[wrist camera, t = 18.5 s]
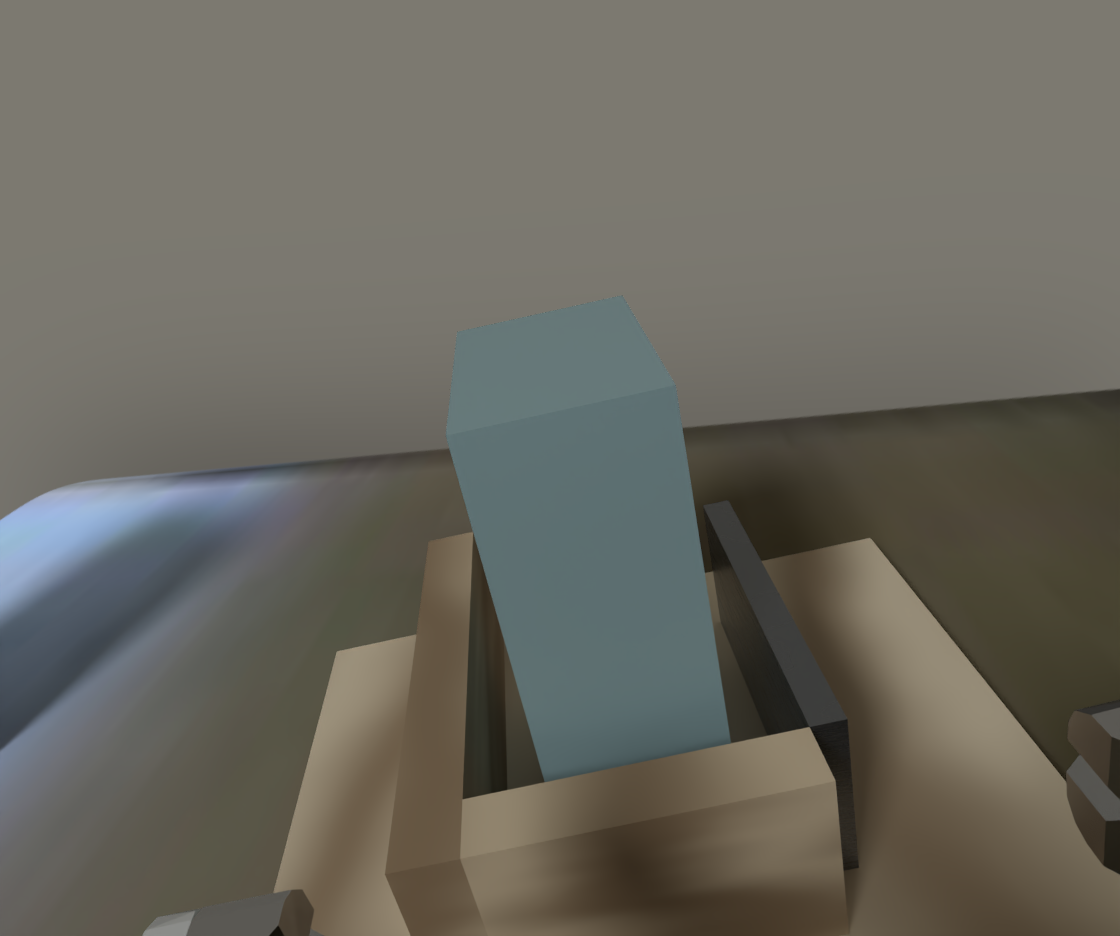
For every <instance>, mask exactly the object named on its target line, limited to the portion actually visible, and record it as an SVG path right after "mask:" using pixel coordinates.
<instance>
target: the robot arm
mask: <svg viewBox="0 0 1120 936" xmlns="http://www.w3.org/2000/svg"><path fill="white" fill-rule="evenodd" d="M1067 740H1068V741H1069V742H1070V743H1071V744H1072V746H1073V747H1074V748H1075V749H1076V750H1077V752H1078V753H1079V754H1080V755H1079V756H1078V758H1077V759H1076V760H1075V761H1074V763H1073V764H1072V765H1071V766H1070V768H1069V769H1068V770H1067V772H1066V784H1067V799H1068V802H1069V805H1070V808H1071V811H1072V814H1073V817H1074V820H1075V823H1076V825H1077V827H1078V829H1079V830H1080V832H1081V834H1082V836H1083V838H1084V839H1085V841H1086V843H1087V845H1088V846H1089V847H1090V849H1091V850H1092V851H1093V853H1094V854H1095V855H1096V857H1097V858H1098V859H1099V861H1100V862H1101V863H1102V865H1103V866H1104V867H1106V868H1108V869H1110V870H1112V871H1114V872H1116V873H1118V874H1120V700H1116V701H1112V702H1108V703H1103V704H1099V705H1095V706H1091V707H1087V708H1083V709H1078V710H1075V711H1074V712H1073V714H1072V716H1071V717H1070V719H1069V721H1068V738H1067ZM313 914H314V908H313V907H312V905H311V903H310V902H309V900H308V898H307V897H306V895H305V893H304V892H303V890H302V889H296V890H287V891H282V892H277V893H272V894H267V895H262V896H257V897H252V898H247V899H242V900H237V901H232V902H227V903H222V904H217V905H212V906H207V907H203V908H200V909H195V910H190V911H185V912H181V913H176V914H171V915H166V916H161V917H157V918H156V919H155V920H154V921H153V922H152V924H151V925H150V926H149V927H148V928H147V929H146V930H145V932H144V934H143V936H324V935H322V934H320V933H318V932H316V931H315V930H313V929H311V924H312V919H313Z"/></svg>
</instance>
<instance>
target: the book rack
mask: <svg viewBox="0 0 1120 936" xmlns="http://www.w3.org/2000/svg"><path fill="white" fill-rule="evenodd" d="M762 563H763V565H764V567H765V569H766V570H767V572H768V574H769V576H770V578H771V580H772V581H773V583H774V585H775V587H776V589H777V591H778V592H779V594H780V596H781V598H782V600H783V602H784V603H785V605H786V607H787V609H788V611H789V613H790V614H791V616H792V618H793V620H794V622H795V624H796V625H797V627H798V629H799V631H800V633H801V635H802V636H803V638H804V640H805V642H806V644H807V646H808V648H809V649H810V651H811V653H812V655H813V657H814V659H815V660H816V662H817V664H818V666H819V668H820V670H821V671H822V673H823V675H824V677H825V679H826V681H827V682H828V684H829V686H830V688H831V690H832V692H833V693H834V695H835V697H836V699H837V701H838V703H839V704H840V706H841V708H842V710H843V712H844V714H845V715H846V717H847V719H848V732H849V745H850V758H851V771H852V784H853V797H854V810H855V823H856V836H857V849H858V862H859V868H855V869H850V870H845V871H843V859H842V848H841V836H840V825H839V814H838V802H837V791H836V781H835V779H834V777H833V775H832V772H831V770H830V768H829V766H828V764H827V762H826V760H825V758H824V756H823V754H822V752H821V750H820V748H819V745H818V743H817V741H816V739H815V737H814V735H813V733H812V731H811V729H810V727H807V728H803V729H798V730H793V731H788V732H783V733H779V734H774V735H769V736H767V733H766V731H765V729H764V726H763V724H762V721H761V719H760V716H759V714H758V712H757V709H756V707H755V704H754V702H753V699H752V697H751V695H750V692H749V690H748V687H747V685H746V682H745V680H744V678H743V675H742V673H741V670H740V668H739V665H738V663H737V661H736V658H735V656H734V653H733V651H732V648H731V646H730V644H729V641H728V639H727V636H726V634H725V631H724V629H723V627H722V624H721V622H720V615H719V609H718V602H717V595H716V588H715V582H714V575H713V572H708V573H705V578H706V585H707V591H708V598H709V604H710V610H711V617H712V623H713V630H714V636H715V643H716V649H717V656H718V662H719V669H720V675H721V681H722V688H723V694H724V701H725V707H726V714H727V720H728V727H729V733H730V740H731V744H726V745H721V746H716V747H711V748H707V749H702V750H697V751H692V752H688V753H683V754H678V755H673V756H668V757H664V758H659V759H654V760H649V761H644V762H640V763H635V764H630V765H625V766H620V767H616V768H611V769H606V770H601V771H596V772H592V773H587V774H582V775H577V776H572V777H568V778H563V779H558V780H553V781H549V782H544V778H543V775H542V771H541V768H540V764H539V761H538V757H537V753H536V750H535V746H534V743H533V739H532V736H531V732H530V729H529V725H528V722H527V718H526V715H525V711H524V708H523V704H522V701H521V697H520V694H519V690H518V687H517V683H516V680H515V676H514V673H513V669H512V666H511V662H510V659H509V655H508V652H507V648H506V645H505V641H504V638H503V634H502V631H501V627H500V624H499V620H498V617H497V614H496V611H495V607H494V604H493V600H492V597H491V593H490V590H489V586H488V583H487V579H486V576H485V572H484V569H483V565H482V562H481V558H480V555H479V551H478V548H477V544H476V541H475V537H474V534H473V532H470V533H465V534H461V535H456V536H451V537H447V538H442V539H437V540H433V541H429V543H428V551H427V558H426V566H425V574H424V581H423V589H422V596H421V604H420V611H419V619H418V627H417V634H416V635H412V636H407V637H403V638H398V639H393V640H389V641H384V642H379V643H375V644H370V645H365V646H361V647H356V648H351V649H346V650H342V651H337V654H336V657H335V661H334V665H333V669H332V673H331V676H330V680H329V684H328V688H327V691H326V695H325V699H324V703H323V707H322V710H321V714H320V718H319V722H318V726H317V729H316V733H315V737H314V741H313V745H312V748H311V752H310V756H309V760H308V764H307V767H306V771H305V775H304V779H303V783H302V786H301V790H300V794H299V798H298V802H297V805H296V809H295V813H294V817H293V821H292V824H291V828H290V832H289V836H288V839H287V843H286V847H285V851H284V855H283V858H282V862H281V866H280V870H279V874H278V877H277V881H276V885H275V889H274V893H277V892H282V891H287V890H296V889H302V890H303V892H304V893H305V895H306V897H307V898H308V900H309V902H310V903H311V905H312V907H313V908H314V914H313V919H312V924H311V929H313V930H315V931H316V932H318V933H320V934H322V935H324V936H1120V874H1118V873H1116V872H1114V871H1112V870H1110V869H1108V868H1106V867H1104V866H1103V865H1102V863H1101V862H1100V861H1099V859H1098V858H1097V857H1096V855H1095V854H1094V853H1093V851H1092V850H1091V849H1090V847H1089V846H1088V845H1087V843H1086V841H1085V839H1084V838H1083V836H1082V834H1081V832H1080V830H1079V829H1078V827H1077V825H1076V823H1075V820H1074V817H1073V814H1072V811H1071V808H1070V805H1069V802H1068V799H1067V784H1066V781H1065V780H1064V779H1063V777H1062V776H1061V775H1060V774H1059V772H1058V771H1057V770H1056V769H1055V767H1054V766H1053V765H1052V764H1051V762H1050V761H1049V760H1048V759H1047V758H1046V756H1045V755H1044V754H1043V753H1042V751H1041V750H1040V749H1039V748H1038V746H1037V745H1036V744H1035V743H1034V741H1033V740H1032V739H1031V738H1030V736H1029V735H1028V734H1027V733H1026V731H1025V730H1024V729H1023V728H1022V726H1021V725H1020V724H1019V723H1018V721H1017V720H1016V719H1015V718H1014V716H1013V715H1012V714H1011V713H1010V711H1009V710H1008V709H1007V708H1006V706H1005V705H1004V704H1003V703H1002V701H1001V700H1000V699H999V698H998V696H997V695H996V694H995V693H994V691H993V690H992V689H991V688H990V686H989V685H988V684H987V683H986V681H985V680H984V679H983V678H982V676H981V675H980V674H979V673H978V672H977V670H976V669H975V668H974V667H973V665H972V664H971V663H970V662H969V660H968V659H967V658H966V657H965V655H964V654H963V653H962V652H961V650H960V649H959V648H958V647H957V645H956V644H955V643H954V642H953V640H952V639H951V638H950V637H949V635H948V634H947V633H946V632H945V630H944V629H943V628H942V627H941V625H940V624H939V623H938V622H937V620H936V619H935V618H934V617H933V615H932V614H931V613H930V612H929V610H928V609H927V608H926V607H925V605H924V604H923V603H922V602H921V600H920V599H919V598H918V597H917V595H916V594H915V593H914V592H913V590H912V589H911V588H910V587H909V586H908V584H907V583H906V582H905V581H904V579H903V578H902V577H901V576H900V574H899V573H898V572H897V571H896V569H895V568H894V567H893V566H892V564H891V563H890V562H889V561H888V559H887V558H886V557H885V556H884V554H883V553H882V552H881V551H880V549H879V548H878V547H877V546H876V544H875V543H874V542H873V541H872V539H871V538H868V539H863V540H858V541H854V542H849V543H844V544H840V545H835V546H830V547H825V548H821V549H816V550H811V551H807V552H802V553H797V554H793V555H788V556H783V557H778V558H774V559H769V560H764V561H762Z"/></svg>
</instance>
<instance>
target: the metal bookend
mask: <svg viewBox="0 0 1120 936" xmlns="http://www.w3.org/2000/svg"><path fill="white" fill-rule="evenodd" d="M703 508H704V515H705V522H706V528H707V535H708V542H709V548H710V555H711V562H712V568H713V575H714V582H715V588H716V595H717V602H718V609H719V615H720V622H721V624H722V627H723V629H724V631H725V634H726V636H727V639H728V641H729V644H730V646H731V648H732V651H733V653H734V656H735V658H736V661H737V663H738V665H739V668H740V670H741V673H742V675H743V678H744V680H745V682H746V685H747V687H748V690H749V692H750V695H751V697H752V699H753V702H754V704H755V707H756V709H757V712H758V714H759V716H760V719H761V721H762V724H763V726H764V729H765V731H766V733H767V736H769V735H774V734H779V733H783V732H788V731H793V730H798V729H803V728H807V727H810V729H811V731H812V733H813V735H814V737H815V739H816V741H817V743H818V745H819V748H820V750H821V752H822V754H823V756H824V758H825V760H826V762H827V764H828V766H829V768H830V770H831V772H832V775H833V777H834V779H835V781H836V791H837V802H838V814H839V825H840V836H841V848H842V859H843V871H845V870H850V869H855V868H859V862H858V849H857V836H856V823H855V810H854V797H853V784H852V771H851V758H850V745H849V732H848V719H847V717H846V715H845V714H844V712H843V710H842V708H841V706H840V704H839V703H838V701H837V699H836V697H835V695H834V693H833V692H832V690H831V688H830V686H829V684H828V682H827V681H826V679H825V677H824V675H823V673H822V671H821V670H820V668H819V666H818V664H817V662H816V660H815V659H814V657H813V655H812V653H811V651H810V649H809V648H808V646H807V644H806V642H805V640H804V638H803V636H802V635H801V633H800V631H799V629H798V627H797V625H796V624H795V622H794V620H793V618H792V616H791V614H790V613H789V611H788V609H787V607H786V605H785V603H784V602H783V600H782V598H781V596H780V594H779V592H778V591H777V589H776V587H775V585H774V583H773V581H772V580H771V578H770V576H769V574H768V572H767V570H766V569H765V567H764V565H763V563H762V561H761V559H760V558H759V556H758V554H757V552H756V550H755V548H754V547H753V545H752V543H751V541H750V539H749V537H748V536H747V534H746V532H745V530H744V528H743V526H742V525H741V523H740V521H739V519H738V517H737V515H736V514H735V512H734V510H733V508H732V506H731V504H730V503H729V501H728V500H727V501H722V502H717V503H713V504H708V505H703Z"/></svg>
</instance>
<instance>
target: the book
mask: <svg viewBox="0 0 1120 936" xmlns="http://www.w3.org/2000/svg"><path fill="white" fill-rule="evenodd" d="M446 438H447V442H448V445H449V449H450V452H451V456H452V459H453V463H454V466H455V470H456V473H457V477H458V480H459V484H460V487H461V491H462V494H463V498H464V501H465V505H466V508H467V512H468V515H469V519H470V522H471V526H472V529H473V533H474V536H475V540H476V543H477V547H478V550H479V554H480V557H481V561H482V564H483V568H484V571H485V575H486V578H487V582H488V585H489V589H490V592H491V596H492V599H493V603H494V606H495V610H496V613H497V617H498V620H499V624H500V627H501V631H502V634H503V638H504V641H505V645H506V648H507V652H508V655H509V659H510V662H511V666H512V669H513V673H514V676H515V680H516V683H517V687H518V690H519V694H520V697H521V701H522V704H523V708H524V711H525V715H526V718H527V722H528V725H529V729H530V732H531V736H532V739H533V743H534V746H535V750H536V753H537V757H538V761H539V764H540V768H541V771H542V775H543V778H544V782H549V781H553V780H558V779H563V778H568V777H572V776H577V775H582V774H587V773H592V772H596V771H601V770H606V769H611V768H616V767H620V766H625V765H630V764H635V763H640V762H644V761H649V760H654V759H659V758H664V757H668V756H673V755H678V754H683V753H688V752H692V751H697V750H702V749H707V748H711V747H716V746H721V745H726V744H731V740H730V733H729V727H728V720H727V714H726V707H725V701H724V694H723V688H722V681H721V675H720V669H719V662H718V656H717V649H716V643H715V636H714V630H713V623H712V617H711V610H710V604H709V598H708V591H707V585H706V578H705V572H704V565H703V559H702V552H701V546H700V539H699V533H698V526H697V520H696V514H695V507H694V501H693V494H692V488H691V481H690V475H689V468H688V462H687V455H686V449H685V442H684V436H683V430H682V423H681V417H680V410H679V404H678V398H677V391H676V385H675V383H674V381H673V380H672V378H671V376H670V375H669V373H668V371H667V370H666V368H665V367H664V365H663V363H662V361H661V360H660V358H659V357H658V355H657V353H656V351H655V350H654V348H653V346H652V345H651V343H650V341H649V339H648V338H647V336H646V334H645V333H644V331H643V330H642V328H641V326H640V324H639V323H638V321H637V319H636V318H635V316H634V314H633V313H632V311H631V309H630V308H629V306H628V304H627V302H626V301H625V299H624V297H623V296H617V297H613V298H608V299H604V300H599V301H595V302H590V303H586V304H581V305H577V306H572V307H568V308H563V309H559V310H555V311H549V312H545V313H541V314H536V315H531V316H527V317H522V318H518V319H513V320H509V321H504V322H500V323H495V324H491V325H486V326H482V327H477V328H473V329H468V330H464V331H460V332H457V338H456V348H455V357H454V366H453V375H452V384H451V393H450V402H449V411H448V420H447V429H446Z"/></svg>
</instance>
